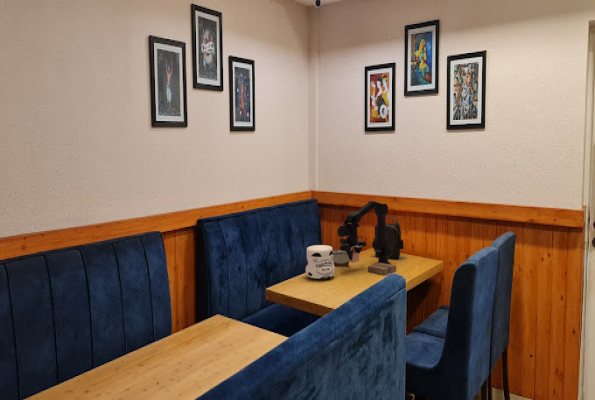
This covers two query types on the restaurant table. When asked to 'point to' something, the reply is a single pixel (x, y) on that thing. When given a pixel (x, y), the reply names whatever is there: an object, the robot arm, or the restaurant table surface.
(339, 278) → the restaurant table surface
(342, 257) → the food container
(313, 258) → the milk container
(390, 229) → the shoulder bag
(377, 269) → the walnut block
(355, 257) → the terracotta cube
